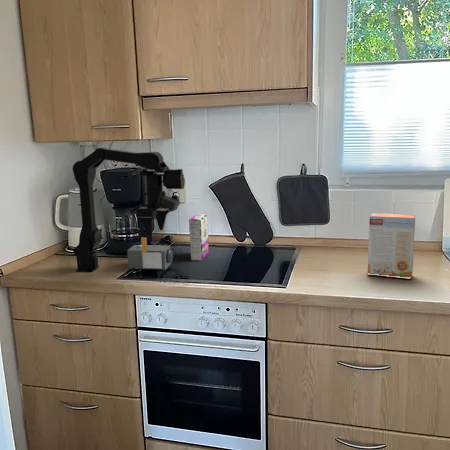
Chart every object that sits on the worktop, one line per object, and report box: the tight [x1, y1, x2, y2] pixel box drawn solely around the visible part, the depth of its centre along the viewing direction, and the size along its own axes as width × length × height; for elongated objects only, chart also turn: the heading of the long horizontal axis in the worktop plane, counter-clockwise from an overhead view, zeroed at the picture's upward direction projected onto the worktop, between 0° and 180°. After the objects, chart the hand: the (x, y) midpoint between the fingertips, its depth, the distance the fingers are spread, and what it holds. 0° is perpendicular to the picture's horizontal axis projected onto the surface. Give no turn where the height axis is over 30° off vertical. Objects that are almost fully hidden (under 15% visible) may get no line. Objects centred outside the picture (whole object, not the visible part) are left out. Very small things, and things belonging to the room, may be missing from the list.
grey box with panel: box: [126, 244, 174, 271], centre depth 174 cm, size 15×8×8 cm, turn 81°
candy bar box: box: [188, 213, 210, 262], centre depth 185 cm, size 11×5×16 cm, turn 168°
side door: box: [140, 236, 162, 269], centre depth 169 cm, size 7×1×11 cm, turn 81°
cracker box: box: [367, 212, 416, 278], centre depth 157 cm, size 14×6×21 cm, turn 65°
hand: (156, 232), depth 166 cm, fingers open, 9 cm apart
